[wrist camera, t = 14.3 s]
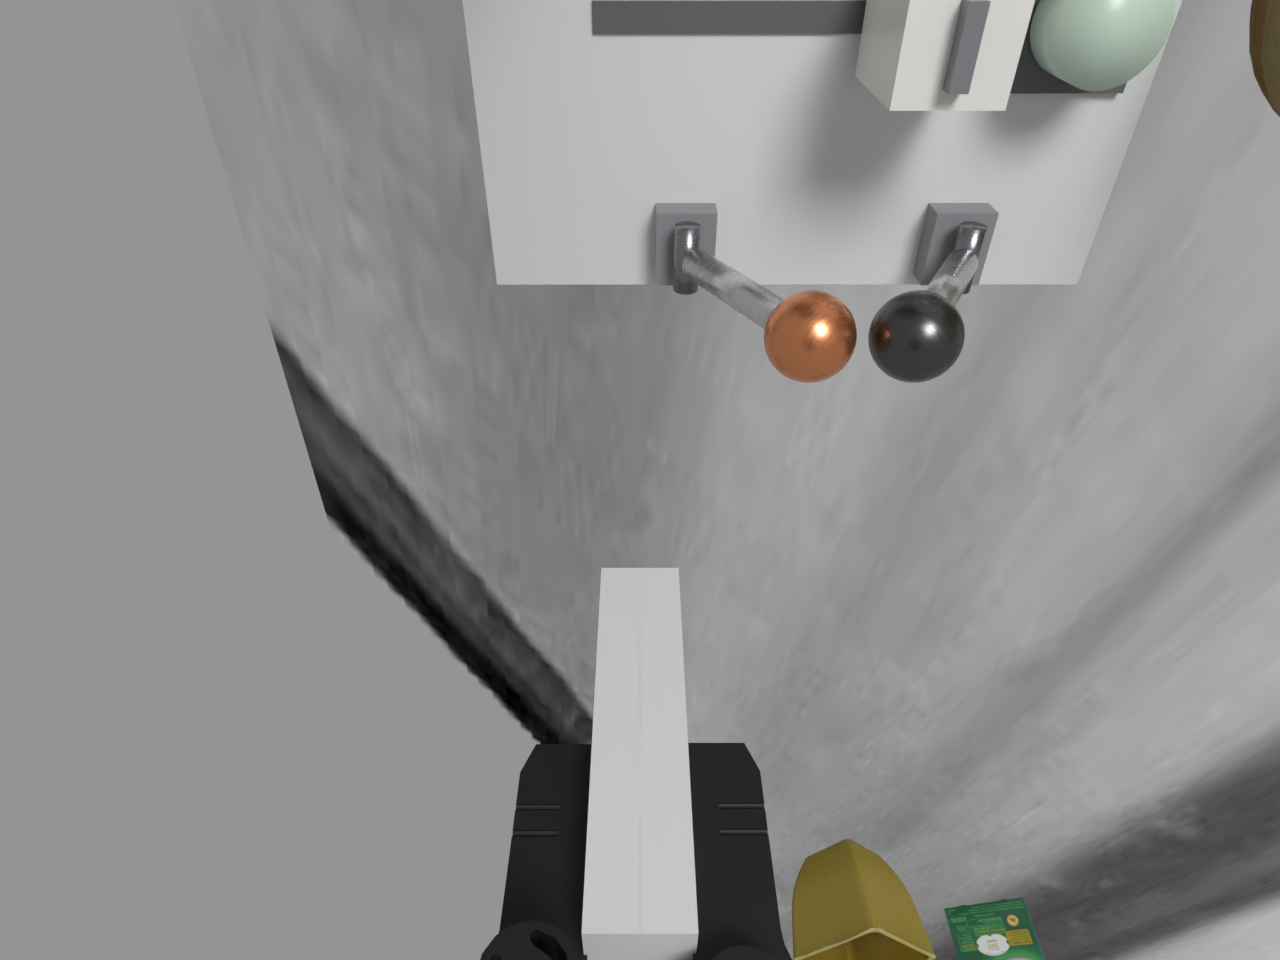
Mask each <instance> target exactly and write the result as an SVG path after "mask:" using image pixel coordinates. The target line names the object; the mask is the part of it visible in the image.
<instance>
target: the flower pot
mask: <svg viewBox="0 0 1280 960" xmlns="http://www.w3.org/2000/svg"><path fill="white" fill-rule="evenodd" d="M792 935H793V960H933V959H935V958H936V956H935V953H934V951H933V948H932V946H931V943H930V941H929V938H928V936H927V933H926V931H925V928H924V926H923V923H922V921H921V918H920V916H919V913H918V911H917V909H916V906H915V904H914V902H913V900H912V898H911V896H910V894H909V892H908V890H907V889H906V887H905V886H904V884H903V882H902V881H901V880H900V878H899V877H898V876H897V874H896V873H895V872H894V871H893V870H892V868H891V867H890V866H889V865H888V864H887V863H886V862H885V861H884V860H883V859H882V858H881V856H879V855H878V854H876V853H874V852H873V851H871V850H869V849H867V848H865V847H863V846H862V845H860V844H858V843H856V842H855V841H853V840H851V839H844V840H842V841H840V842H838V843H835V844H833V845H831V846H829V847H827V848H825V849H823V850H821V851H819V852H816V853H814V854H812V855H810V856H808V857H807V858H806V859H805V861H804V863H803V864H802V867H801V869H800V871H799V873H798V876H797V879H796V882H795V886H794V891H793V897H792Z"/></svg>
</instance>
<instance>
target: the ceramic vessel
mask: <svg viewBox="0 0 1280 960" xmlns="http://www.w3.org/2000/svg"><path fill="white" fill-rule="evenodd" d="M1249 52H1250V57H1251V62H1252V67H1253V72H1254V76H1255V78H1256V80H1257V82H1258V85H1259V87H1260V89H1261V91H1262V93H1263V95H1264V96H1265V98H1266V100H1267V101H1268V103H1269V104H1270V106H1271V108H1272V109H1273V111H1274V112H1275V113H1276V114H1277V115H1278V116H1279V117H1280V0H1252V4H1251V11H1250V24H1249Z"/></svg>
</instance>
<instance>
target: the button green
mask: <svg viewBox="0 0 1280 960" xmlns="http://www.w3.org/2000/svg"><path fill="white" fill-rule="evenodd" d="M1174 15H1175V0H1040V2H1039V4H1038V6H1037V8H1036V10H1035V13H1034V16H1033V19H1032V23H1031V28H1030V45H1031V50H1032V54H1033V56H1034V58H1035V60H1036V62H1037V63H1038V64H1039V66H1040V67H1041V68H1042V69H1043V70H1045V71H1046V72H1048V73H1050V74H1052V75H1054V76H1055V77H1057V78H1059V79H1061V80H1063V81H1065V82H1067V83H1069V84H1071V85H1073V86H1075V87H1077V88H1079V89H1082V90H1086V91H1104V90H1108V89H1112V88H1115V87H1117V86H1120V85H1122V84H1124V83H1126V82H1127V81H1129V80H1131V79H1132V78H1134V77H1135V76H1137V75H1138V74H1139V73H1140V72H1141V71H1143V70H1144V69H1145V68H1146V67H1147V66H1148V65H1149V64H1150V63H1151V62H1152V61H1153V59H1154V58H1155V57H1156V56H1157V54H1158V53H1159V51H1160V50H1161V48H1162V47H1163V45H1164V43H1165V41H1166V40H1167V38H1168V35H1169V33H1170V31H1171V27H1172V24H1173V20H1174Z"/></svg>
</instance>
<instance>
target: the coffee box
mask: <svg viewBox="0 0 1280 960" xmlns="http://www.w3.org/2000/svg"><path fill="white" fill-rule="evenodd" d="M944 911H945V915H946V918H947V922H948V926H949V930H950V933H951V936H952V940H953V943H954V947H955V951H956V956H957V959H958V960H1045V958H1044V955H1043V952H1042V949H1041V946H1040V944H1039V941H1038V938H1037V935H1036V932H1035V929H1034V926H1033V923H1032V921H1031V917H1030V915H1029V912H1028V909H1027V906H1026V903H1025V901H1024V898H1016V899H1002V900H1000V901H994V902H987V903H981V904H973V905H960V906H957V907H952V908H945V909H944Z"/></svg>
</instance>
